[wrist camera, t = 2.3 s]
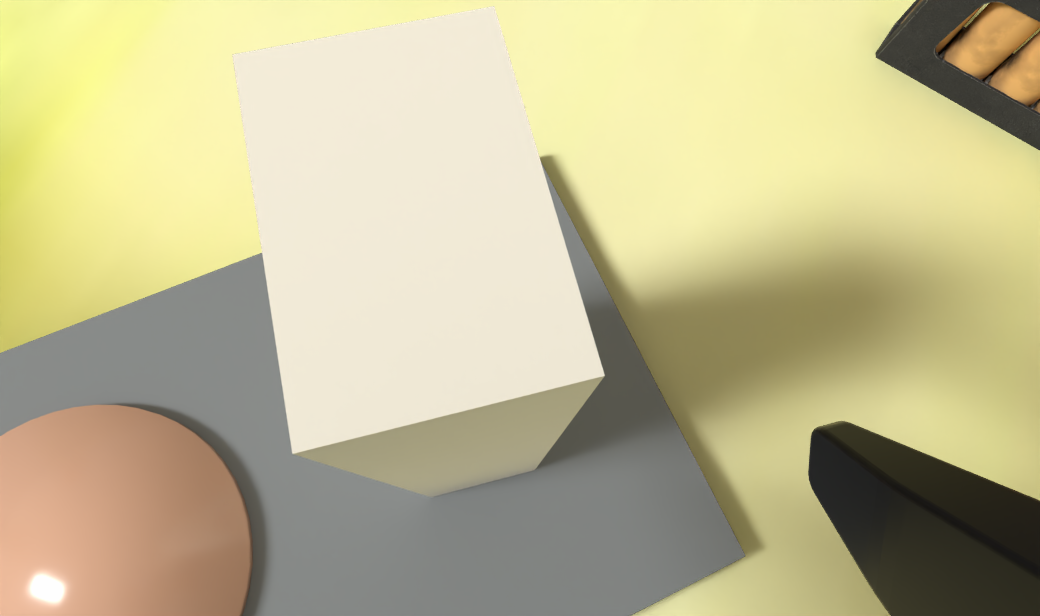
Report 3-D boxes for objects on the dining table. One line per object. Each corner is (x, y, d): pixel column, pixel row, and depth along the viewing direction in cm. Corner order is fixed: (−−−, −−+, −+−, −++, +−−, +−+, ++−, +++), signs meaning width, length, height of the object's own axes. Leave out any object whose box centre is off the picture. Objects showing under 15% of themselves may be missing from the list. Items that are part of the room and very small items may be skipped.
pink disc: (183, 809, 16) (175, 816, 16) (-166, 727, 16) (-182, 732, 16) (295, 442, 19) (291, 441, 18) (-5, 378, 19) (-15, 375, 19)
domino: (535, 469, 19) (607, 375, 6) (430, 497, 18) (289, 454, 6) (498, 322, 20) (495, 5, 8) (399, 346, 20) (229, 54, 7)
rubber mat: (533, 157, 22) (534, 148, 22) (738, 555, 19) (745, 556, 18) (-152, 422, 19) (-173, 419, 19) (-69, 970, 15) (-91, 987, 15)
